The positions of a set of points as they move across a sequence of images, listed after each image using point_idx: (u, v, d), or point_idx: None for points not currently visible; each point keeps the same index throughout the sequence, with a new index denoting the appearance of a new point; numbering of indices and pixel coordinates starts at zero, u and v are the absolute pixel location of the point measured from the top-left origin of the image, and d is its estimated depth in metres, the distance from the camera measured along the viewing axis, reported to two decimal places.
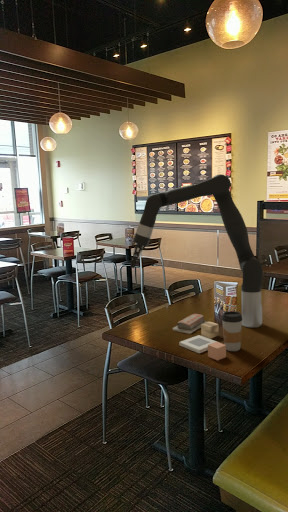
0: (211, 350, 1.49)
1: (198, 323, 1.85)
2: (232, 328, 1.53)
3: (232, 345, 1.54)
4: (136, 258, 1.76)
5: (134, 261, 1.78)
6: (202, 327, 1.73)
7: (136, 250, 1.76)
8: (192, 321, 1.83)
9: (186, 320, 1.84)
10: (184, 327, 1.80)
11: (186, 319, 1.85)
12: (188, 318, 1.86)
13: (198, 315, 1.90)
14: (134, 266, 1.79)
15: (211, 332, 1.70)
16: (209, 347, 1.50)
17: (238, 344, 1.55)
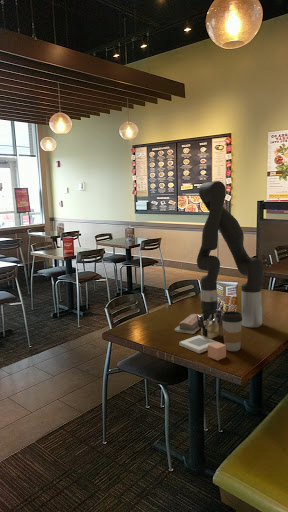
0: (211, 350, 1.49)
1: None
2: (232, 328, 1.53)
3: (232, 345, 1.54)
4: (201, 326, 1.69)
5: (203, 329, 1.71)
6: None
7: (198, 319, 1.69)
8: (193, 321, 1.83)
9: (187, 320, 1.83)
10: (186, 327, 1.80)
11: (187, 319, 1.84)
12: (189, 318, 1.86)
13: None
14: (206, 334, 1.71)
15: (211, 332, 1.70)
16: (209, 347, 1.50)
17: (238, 344, 1.55)
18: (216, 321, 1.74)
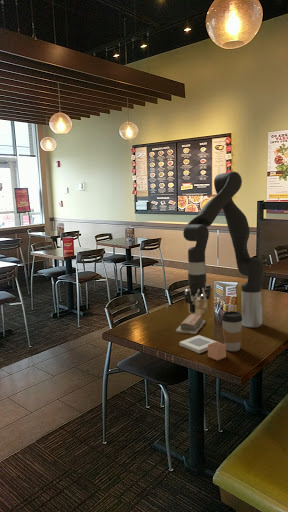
0: (211, 349, 1.49)
1: (199, 323, 1.86)
2: (232, 328, 1.53)
3: (232, 345, 1.54)
4: (188, 301, 1.56)
5: (191, 305, 1.57)
6: None
7: (185, 293, 1.56)
8: (194, 321, 1.83)
9: (188, 320, 1.83)
10: (188, 328, 1.79)
11: (188, 319, 1.84)
12: (189, 319, 1.85)
13: (196, 315, 1.91)
14: (193, 311, 1.58)
15: (199, 308, 1.57)
16: (209, 347, 1.50)
17: (238, 344, 1.55)
18: (205, 297, 1.61)
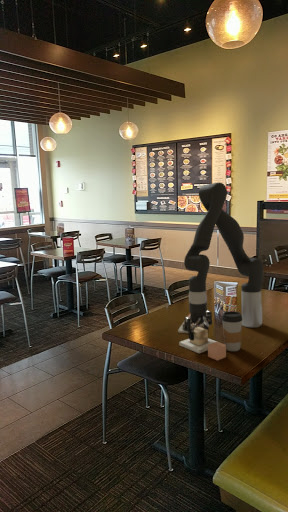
0: (211, 349, 1.49)
1: None
2: (232, 328, 1.53)
3: (232, 345, 1.54)
4: (187, 329, 1.57)
5: (189, 333, 1.58)
6: None
7: (185, 320, 1.57)
8: None
9: None
10: None
11: None
12: None
13: None
14: (192, 338, 1.58)
15: (200, 338, 1.59)
16: (209, 347, 1.50)
17: (238, 344, 1.55)
18: (207, 322, 1.63)
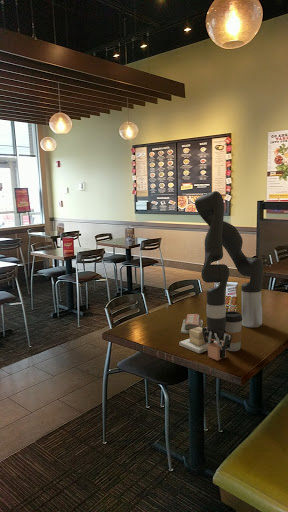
0: (211, 349, 1.49)
1: None
2: (232, 328, 1.53)
3: (232, 345, 1.54)
4: (228, 346, 1.46)
5: (224, 350, 1.47)
6: (190, 333, 1.62)
7: (228, 339, 1.44)
8: (197, 321, 1.83)
9: (191, 321, 1.82)
10: None
11: (190, 320, 1.83)
12: (190, 319, 1.85)
13: (194, 315, 1.91)
14: None
15: (200, 338, 1.59)
16: (209, 347, 1.50)
17: (238, 344, 1.55)
18: None
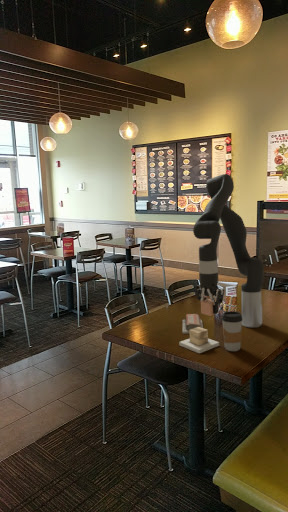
0: (204, 306, 1.52)
1: None
2: (232, 328, 1.53)
3: (232, 345, 1.54)
4: (221, 301, 1.48)
5: (217, 305, 1.50)
6: (190, 333, 1.62)
7: (221, 294, 1.46)
8: (197, 321, 1.83)
9: (192, 321, 1.82)
10: None
11: (190, 320, 1.83)
12: (191, 319, 1.85)
13: (194, 315, 1.91)
14: None
15: (200, 338, 1.59)
16: (202, 303, 1.52)
17: (238, 344, 1.55)
18: None
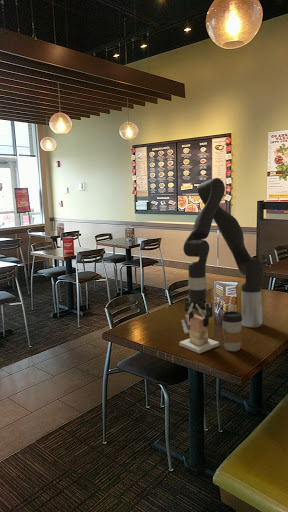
0: (193, 323, 1.60)
1: None
2: (232, 328, 1.53)
3: (232, 345, 1.54)
4: (211, 315, 1.55)
5: (207, 319, 1.57)
6: (190, 333, 1.62)
7: (209, 307, 1.54)
8: None
9: None
10: None
11: None
12: None
13: None
14: None
15: (200, 338, 1.59)
16: (191, 321, 1.61)
17: (238, 344, 1.55)
18: None
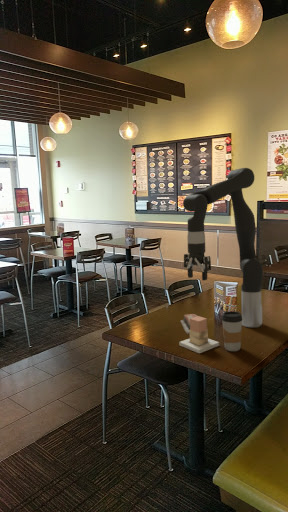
0: (193, 323, 1.60)
1: None
2: (232, 328, 1.53)
3: (232, 345, 1.54)
4: (210, 268, 1.58)
5: (206, 272, 1.59)
6: (190, 333, 1.62)
7: (207, 260, 1.57)
8: None
9: None
10: None
11: None
12: None
13: (192, 315, 1.91)
14: (206, 277, 1.61)
15: (200, 338, 1.59)
16: (191, 321, 1.61)
17: (238, 344, 1.55)
18: None
